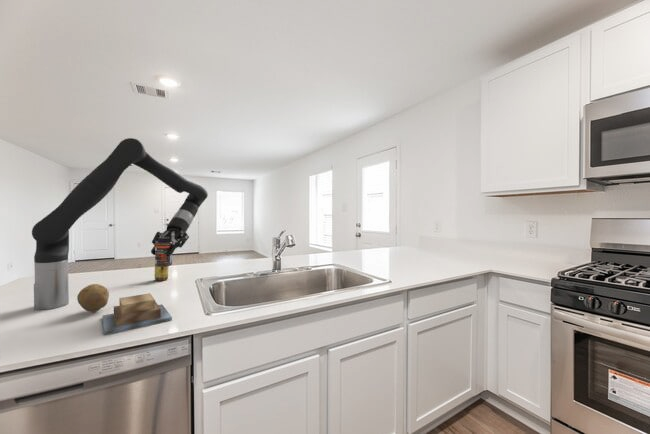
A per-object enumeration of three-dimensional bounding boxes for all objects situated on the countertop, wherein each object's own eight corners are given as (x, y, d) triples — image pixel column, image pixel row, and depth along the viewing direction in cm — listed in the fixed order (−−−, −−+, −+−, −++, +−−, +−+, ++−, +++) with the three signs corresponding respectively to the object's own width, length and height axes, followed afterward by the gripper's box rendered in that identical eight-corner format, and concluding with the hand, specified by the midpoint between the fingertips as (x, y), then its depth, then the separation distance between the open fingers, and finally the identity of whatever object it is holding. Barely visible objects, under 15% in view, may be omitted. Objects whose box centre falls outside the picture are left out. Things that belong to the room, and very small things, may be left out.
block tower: (104, 334, 83) (104, 311, 83) (102, 318, 96) (102, 298, 95) (172, 319, 95) (171, 299, 95) (162, 306, 107) (162, 288, 107)
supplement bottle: (153, 267, 107) (153, 238, 107) (156, 264, 113) (155, 236, 112) (171, 266, 110) (171, 238, 109) (172, 263, 115) (172, 236, 115)
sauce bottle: (162, 281, 143) (161, 243, 142) (151, 281, 144) (151, 242, 143) (171, 278, 149) (171, 241, 149) (161, 277, 151) (161, 241, 150)
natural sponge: (83, 308, 104) (83, 282, 104) (112, 305, 108) (112, 280, 108) (73, 317, 96) (72, 288, 96) (105, 314, 100) (104, 286, 99)
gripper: (161, 216, 119) (138, 247, 108) (192, 216, 117) (172, 249, 105) (170, 227, 124) (149, 258, 113) (199, 228, 122) (181, 260, 111)
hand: (160, 254), depth 109 cm, fingers closed on supplement bottle, 6 cm apart
